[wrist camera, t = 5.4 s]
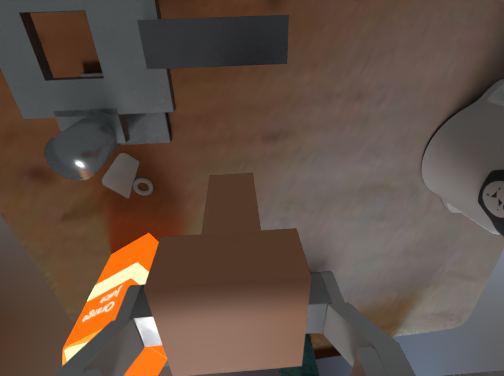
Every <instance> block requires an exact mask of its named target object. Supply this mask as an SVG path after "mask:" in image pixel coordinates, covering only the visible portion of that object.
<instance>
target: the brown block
mask: <svg viewBox="0 0 504 376" xmlns="http://www.w3.org/2000/svg"><path fill="white" fill-rule="evenodd" d="M310 286H311V273H310V270H309V267H308V264H307V261H306V258H305V254H304V251H303V248H302V245H301V242H300V239H299V235H298V232H297V229H296V228H293V229H278V230H263V231H261V227H260V220H259V213H258V206H257V199H256V192H255V185H254V178H253V173H243V174H226V175H210V177H209V184H208V191H207V198H206V205H205V213H204V220H203V227H202V234H201V235H187V236H171V237H160V240H159V243H158V246H157V249H156V252H155V255H154V259H153V262H152V265H151V268H150V271H149V274H148V277H147V280H146V283H145V286H144V292H145V295H146V298H147V301H148V304H149V307H150V310H151V313H152V316H153V319H154V321H155V324H156V327H157V330H158V333H159V336H160V339H161V342H162V345H163V348H164V351H165V354H166V357H167V360H168V363H169V366H170V369H171V372H172V375H173V376H190V375H201V374H213V373H225V372H237V371H249V370H260V369H272V368H284V367H296V366H302V360H303V351H304V342H305V332H306V323H307V314H308V305H309V295H310Z"/></svg>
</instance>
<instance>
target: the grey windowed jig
mask: <svg viewBox="0 0 504 376" xmlns="http://www.w3.org/2000/svg"><path fill="white" fill-rule="evenodd" d="M74 11H85V12H86V16H87V19H88V23H89V26H90V30H91V33H92V37H93V40H94V44H95V48H96V51H97V55H98V58H99V62H100V65H101V69H102V72H88V73H81V74H80V77H67V78H53V75H52V72H51V69H50V67H49V64H48V61H47V58H46V56H45V53H44V50H43V48H42V45H41V42H40V39H39V37H38V34H37V31H36V29H35V26H34V23H33V20H32V18H31V15H30V13H43V12H74ZM288 19H289V15H272V16H243V17H213V18H184V19H161V14H160V8H159V2H158V0H0V68H1V70H2V72H3V74H4V77H5V79H6V81H7V83H8V86H9V88H10V90H11V92H12V94H13V97H14V99H15V101H16V103H17V106H18V108H19V110H20V112H21V114H22V117H23V119H32V118H53V117H55V118H56V120H57V123H58V126H59V128H60V131H61V133H59V134H58V135H56V136H55V137H53V138H52V139H50V140H49V141H48V142H47V143H46V145H45V149H44V155H45V159H46V161H47V163H48V164H49V166H50V167H51V168H52V169H53V170H54V171H55V172H56V173H57V174H59V175H60V176H62V177H64V178H67V179H70V180H76V181H81V180H86V179H89V178H90V177H92V176H93V175H94V174H95V173H96V172H97V171H98V170H99V168H100V167H101V166H102V165H103V164H104V163H105V162H106V161H107V160H108V158H109V157H110V156H111V155H112V154H113V153H114V152H115V151H116V150H117V149H118V147H119V146H120V145H128V144H147V143H167V142H171V140H172V138H171V132H170V127H169V121H168V116H167V112H174V111H175V109H176V104H175V98H174V92H173V86H172V80H171V74H170V68H193V67H218V66H242V65H267V64H287V51H288Z"/></svg>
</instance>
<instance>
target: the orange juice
mask: <svg viewBox="0 0 504 376" xmlns="http://www.w3.org/2000/svg"><path fill="white" fill-rule="evenodd" d="M158 243H159V242H158V241H157V240H156V239H155V238H154V237H153V236H152V235H151V234H149V233H148V234H146V235H144V236H143V237H141V238H139V239H137V240H136V241H134V242H132V243H130V244H129V245H127V246H125V247H123V248H122V249H120V250H118V251H117V252H115V253H113V254H111V256H110V258H109V260H108V262H107V264H106V266H105V268H104V270H103V272H102V274H101V276H100V278H99V280H98V282H97V284H96V285H95V287H94V288H93V290H92V292H91V294H90V296H89V298H88V300H87V303H86V305H85V307H84V309H83V311H82V313H81V315H80V316H79V318H78V320H77V322H76V324H75V326H74V328H73V330H72V332H71V334H70V336H69V338H68V340H67V342H66V344H65V346H64V347H63V365H64V364H65V363H66V362H67V361H68V360H69V359H70V358H71V357H73V356H74V355H75V354H76V353H77V352H78V351H79V350H80V349H81V348H82V347H83V346H84V345H86V344H87V343H88V342H89V341H90V340H91V339H92V338H93V337H94V336H95V335H96V334H97V333H99V332H100V331H101V330H102V329H103V328H104V327H105V326H106V325H107V324H108V323H109V322H110V321H113V320H115V319H116V317H117V314H118V311H119V309H120V306H121V304H122V301H123V299H124V296H125V294H126V291H127V289H128V287H129V286H130V285H142V284H145V283H146V280H147V277H148V274H149V271H150V268H151V265H152V262H153V259H154V255H155V252H156V249H157V246H158ZM166 361H167V357H166V354H165V351H164V348H163V345H159V346H150V347H144V350H143V351H142V352H141V353H140V355H139V356H138V357H137V359H136V360H135V361H134V363H133V364H132V365H131V367H130V368H129V369H128V370H127V372H126V373H125V374H124V376H158V374H159V372H160V371H161V369H162V367H163V366H164V364H165V362H166Z"/></svg>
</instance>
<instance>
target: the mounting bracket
mask: <svg viewBox="0 0 504 376" xmlns="http://www.w3.org/2000/svg"><path fill="white" fill-rule="evenodd" d="M138 165H139V161H138V160H136V159H135V158H133V157H131V156H130V155H128V154H127V153H121V154H119V155H118V156H117V158H116V159H115V161H114V162H113V164H112V165H111V167H110V168H109V170H108V171H107V172H106V174H105V175H104V177H103V179H102V183H103V185H104V186H106V187H108V188H110V189H112V190H113V191H115V192H117V193H119V194H121V195H122V196H124V197H126V198H128V199H129V196H130V192H131V189H132V186H133V189H134V190H135V192H136V193H138V194H140V195H143V196H146V195H150V194H151V193H152V192H153V191H154V185H153V183H152V182H151V181H150V180H149V179H147V178H137V179H136V180H135V181H134V179H135V175H136V172H137V169H138ZM133 182H134V183H133ZM140 183H146V184H147V185H148V186H149V189H148V190H147V191H142V190H140V189H139V187H138V185H139V184H140Z"/></svg>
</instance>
